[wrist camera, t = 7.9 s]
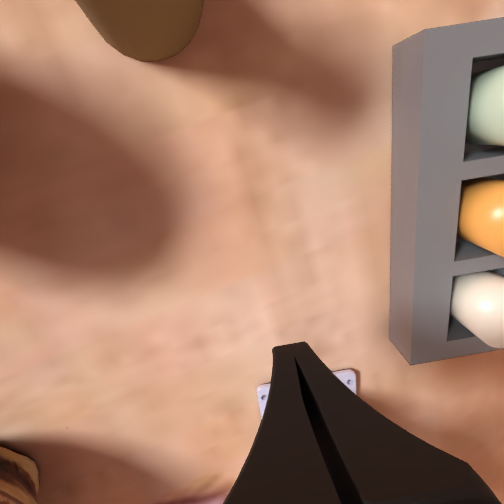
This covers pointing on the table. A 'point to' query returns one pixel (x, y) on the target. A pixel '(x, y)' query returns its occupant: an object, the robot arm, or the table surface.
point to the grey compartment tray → (436, 185)
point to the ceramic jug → (17, 478)
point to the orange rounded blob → (482, 213)
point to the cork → (145, 25)
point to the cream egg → (480, 305)
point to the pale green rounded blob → (486, 108)
